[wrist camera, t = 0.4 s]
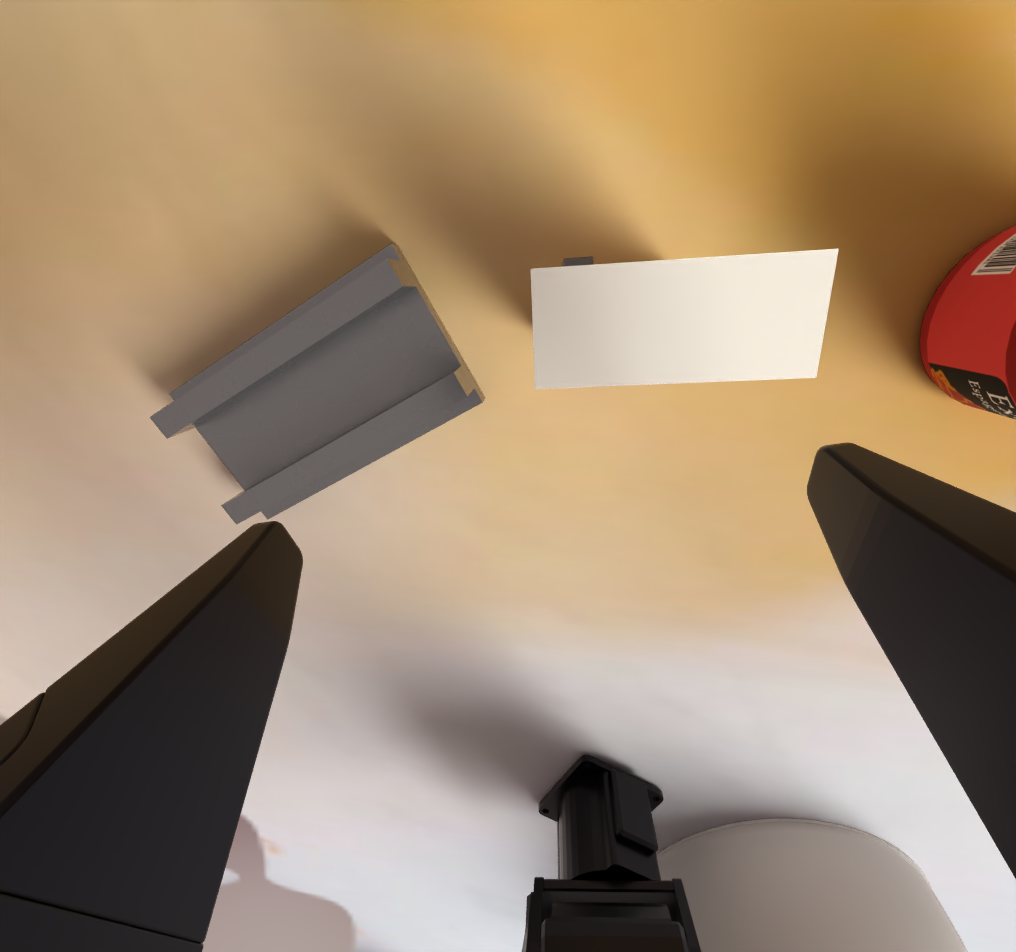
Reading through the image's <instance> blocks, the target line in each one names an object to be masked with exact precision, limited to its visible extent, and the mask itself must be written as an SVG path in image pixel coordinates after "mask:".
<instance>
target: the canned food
mask: <svg viewBox="0 0 1016 952" xmlns="http://www.w3.org/2000/svg"><path fill="white" fill-rule="evenodd" d="M920 354H921V358H922V361H923V365H924V368H925V370H926V371H927V373H928V375H929V376H930V378H931V380H932V381H933V382H934V383H935V384H936V385H938V386H939V387H940V388H941V389H942V390H943V391H944V392H945V393H946V394H947V395H949V396H950V397H951V398H953V399H955V400H957V401H959V402H960V403H962V404H964V405H968V406H971V407H975V408H978V409H982V410H985V411H989V412H992V413H996V414H999V415H1002V416H1006V417H1009V418H1013V419H1016V225H1015V226H1013V227H1011V228H1009V229H1007V230H1005V231H1003V232H1001V233H999V234H997V235H995V236H994V237H992V238H990V239H988V240H986V241H985V242H983V243H982V244H981V245H979V246H978V247H977V248H975V249H974V250H973V251H971V252H970V253H968V254H967V255H966V256H965V257H964V258H963V259H962V260H961V261H960V262H959V263H958V264H957V265H956V266H955V267H954V268H953V269H952V270H951V271H950V273H949V274H948V275H947V277H946V278H945V279H944V280H943V282H942V283H941V284H940V286H939V287H938V289H937V291H936V292H935V294H934V296H933V298H932V300H931V301H930V303H929V306H928V308H927V311H926V314H925V317H924V319H923V323H922V329H921V334H920Z"/></svg>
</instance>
